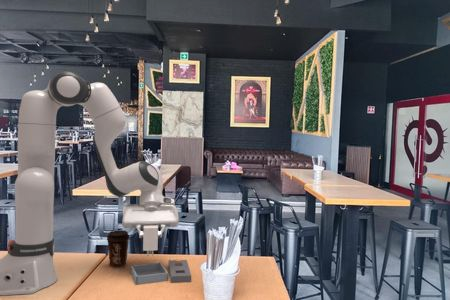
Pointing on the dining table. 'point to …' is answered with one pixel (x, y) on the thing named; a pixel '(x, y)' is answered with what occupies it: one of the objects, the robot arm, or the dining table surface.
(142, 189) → the robot arm
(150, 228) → the charger
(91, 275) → the dining table surface
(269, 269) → the dining table surface
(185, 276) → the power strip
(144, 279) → the tray
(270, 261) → the dining table surface
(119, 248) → the coffee cup
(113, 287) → the dining table surface
